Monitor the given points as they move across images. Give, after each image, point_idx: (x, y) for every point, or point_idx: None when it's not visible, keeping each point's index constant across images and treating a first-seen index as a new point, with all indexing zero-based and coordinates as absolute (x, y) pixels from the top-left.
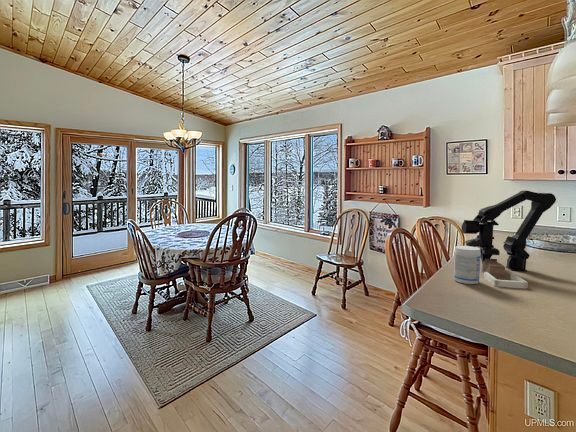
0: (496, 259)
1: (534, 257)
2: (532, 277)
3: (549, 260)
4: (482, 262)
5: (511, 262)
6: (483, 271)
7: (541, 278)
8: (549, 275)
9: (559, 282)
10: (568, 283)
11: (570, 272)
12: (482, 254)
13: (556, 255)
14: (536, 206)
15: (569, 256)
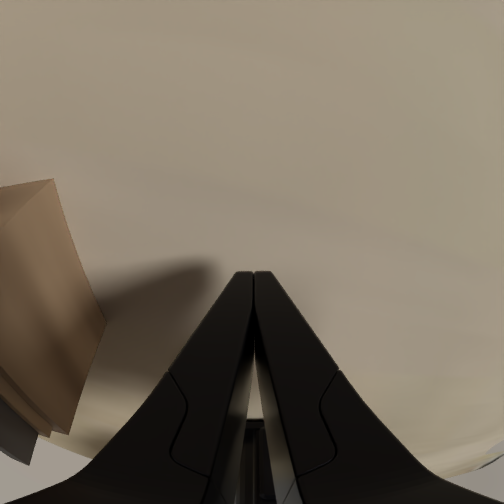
0: (7, 453)
1: (479, 449)
2: (98, 428)
3: (434, 470)
4: (241, 300)
5: (254, 481)
6: (4, 190)
7: (106, 441)
8: None
9: (83, 448)
10: (90, 456)
11: None
12: (43, 499)
13: (472, 465)
14: None
15: (454, 475)
